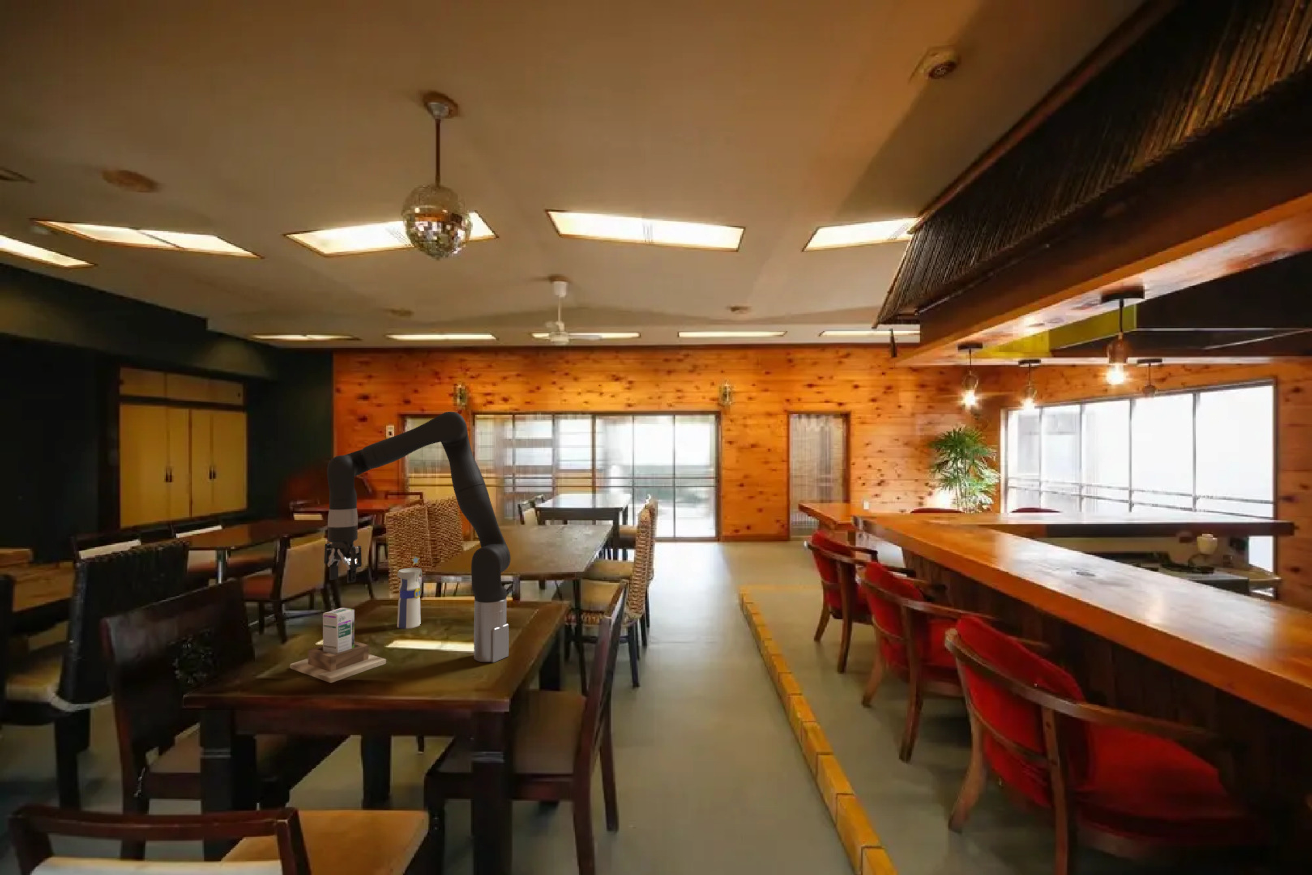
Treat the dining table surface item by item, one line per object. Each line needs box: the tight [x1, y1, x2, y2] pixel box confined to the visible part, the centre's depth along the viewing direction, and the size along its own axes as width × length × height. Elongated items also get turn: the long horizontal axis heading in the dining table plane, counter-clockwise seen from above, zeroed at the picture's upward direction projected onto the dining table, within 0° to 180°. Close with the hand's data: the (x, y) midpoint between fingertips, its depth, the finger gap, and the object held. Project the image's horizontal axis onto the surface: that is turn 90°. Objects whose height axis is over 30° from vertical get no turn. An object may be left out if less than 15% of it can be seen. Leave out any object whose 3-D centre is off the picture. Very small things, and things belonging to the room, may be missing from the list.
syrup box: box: [322, 607, 355, 654], centre depth 163 cm, size 6×6×14 cm
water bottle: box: [396, 555, 423, 629], centre depth 201 cm, size 8×9×25 cm
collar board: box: [289, 640, 387, 684], centre depth 163 cm, size 20×16×5 cm
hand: (342, 580), depth 164 cm, fingers open, 8 cm apart
